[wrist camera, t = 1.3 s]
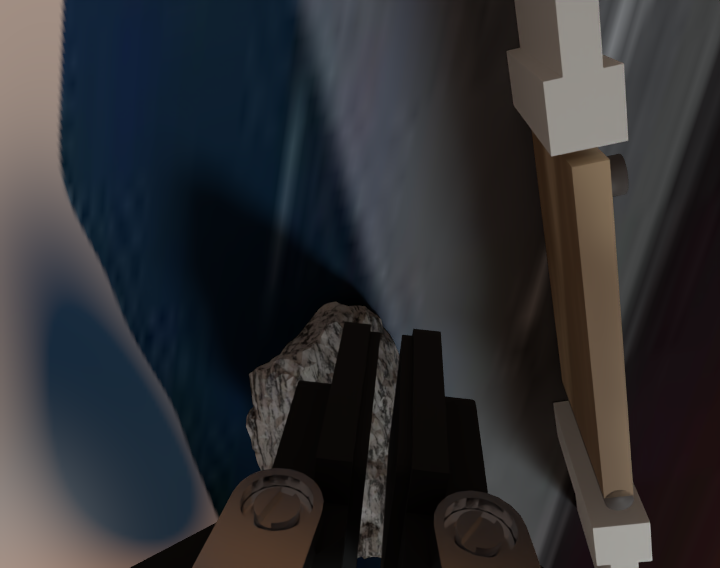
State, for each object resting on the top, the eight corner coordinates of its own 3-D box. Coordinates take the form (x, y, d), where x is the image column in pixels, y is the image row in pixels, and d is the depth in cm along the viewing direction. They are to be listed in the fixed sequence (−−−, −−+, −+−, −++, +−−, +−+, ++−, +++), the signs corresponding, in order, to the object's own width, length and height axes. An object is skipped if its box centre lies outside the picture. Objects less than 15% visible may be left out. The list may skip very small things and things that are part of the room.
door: (586, 100, 28) (655, 150, 20) (610, 381, 34) (668, 505, 26) (528, 113, 28) (571, 167, 20) (562, 388, 35) (605, 511, 27)
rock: (265, 263, 32) (210, 406, 24) (424, 256, 31) (420, 404, 23) (314, 455, 42) (285, 604, 34) (438, 455, 40) (439, 611, 32)
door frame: (549, -93, 25) (612, -127, 17) (607, 505, 38) (657, 645, 30) (489, -77, 25) (522, -101, 17) (567, 509, 39) (606, 648, 31)
